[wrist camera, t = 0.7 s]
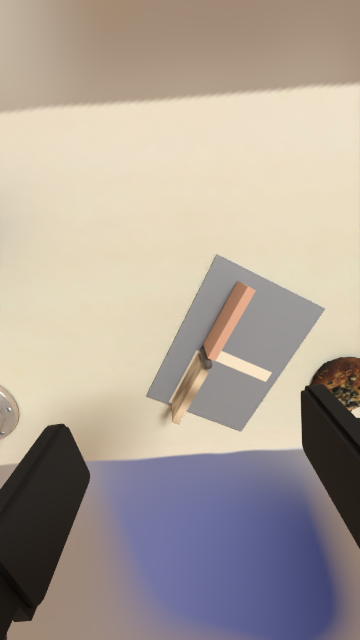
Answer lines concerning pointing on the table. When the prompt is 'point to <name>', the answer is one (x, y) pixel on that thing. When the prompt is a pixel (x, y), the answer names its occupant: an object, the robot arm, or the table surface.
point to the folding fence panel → (227, 319)
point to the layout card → (236, 345)
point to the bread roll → (342, 380)
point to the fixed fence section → (190, 385)
